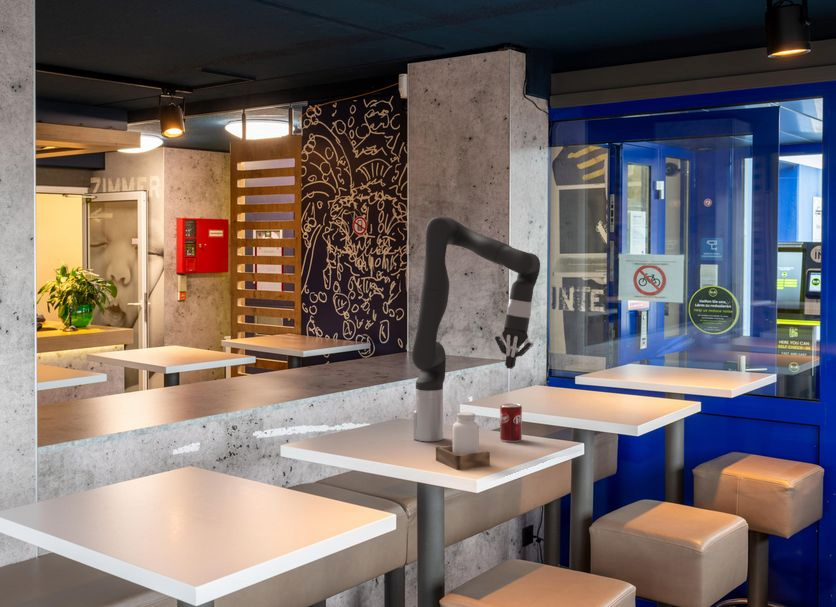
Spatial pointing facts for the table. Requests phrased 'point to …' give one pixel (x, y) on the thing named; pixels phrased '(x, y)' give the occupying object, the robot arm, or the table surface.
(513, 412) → the soda can
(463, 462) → the holder
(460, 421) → the pill bottle
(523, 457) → the table surface
